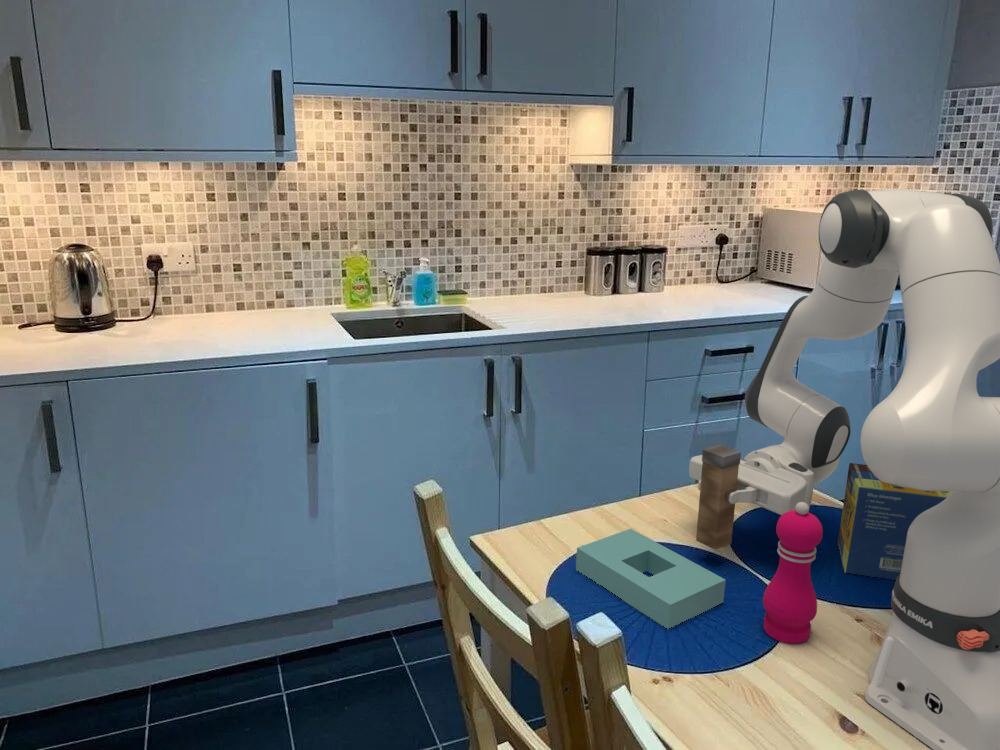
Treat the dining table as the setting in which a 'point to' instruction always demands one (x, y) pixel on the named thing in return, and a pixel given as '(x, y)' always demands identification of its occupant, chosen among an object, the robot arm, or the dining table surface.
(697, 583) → the post foot
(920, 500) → the protein box
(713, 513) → the peg
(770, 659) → the dining table surface
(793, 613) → the pepper mill
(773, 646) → the dining table surface
